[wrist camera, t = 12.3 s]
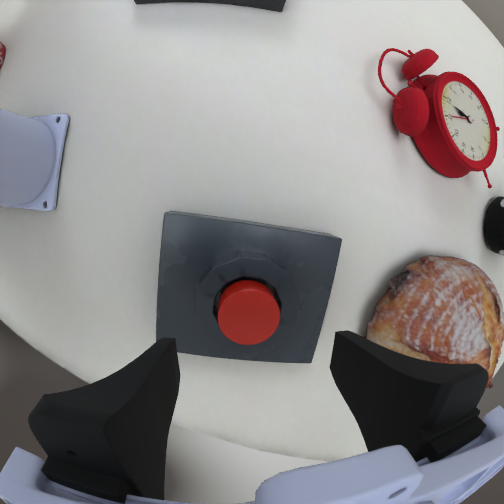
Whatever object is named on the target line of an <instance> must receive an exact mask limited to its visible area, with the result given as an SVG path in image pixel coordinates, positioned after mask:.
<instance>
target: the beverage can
mask: <svg viewBox="0 0 504 504" xmlns="http://www.w3.org/2000/svg"><path fill="white" fill-rule="evenodd" d="M484 231H485V237H486V241H487V243H488V244H489V247H490V248H491V250H492V251H493V252H495V253H498V254H501V255H504V197H497V198H496V199H494V201H493V202H492V203H491V204H490V205H489V207H488V209H487V212H486V216H485V223H484Z"/></svg>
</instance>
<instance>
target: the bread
mask: <svg viewBox="0 0 504 504" xmlns="http://www.w3.org/2000/svg"><path fill="white" fill-rule="evenodd" d="M389 286H390V287H391V289H390V290H388V291H387V293H386V294H385V295H384V296H383V297H382V298H381V299H380V301H379V302H378V303H377V305H376V308H375V312H374V318H373V319H372V321H370V322H369V323H368V324H367V325H368V329H367V335H366V339H368V340H370V341H372V342H375V343H377V344H379V345H381V346H383V347H386V348H388V349H390V350H393V351H395V352H398V353H401V354H404V355H407V356H410V357H414V358H417V359H422V360H427V361H432V362H439V363H449V364H474V363H477V364H479V365H481V366H482V367H483V368H485V369H486V370H487V371H488V373H489V379H488V384H487V386H486V388H491V387H493V385H492V376H493V373H494V370H495V368H496V364H497V363H498V358H499V357H500V354H501V347H502V342H503V340H504V312H503V307H502V303H501V300H500V297H499V294H498V292H497V289H496V287H495V286H494V284H493V283H492V281H491V279H490V278H489V277H488V276H487V275H486V274H485V273H484V272H483V271H482V270H481V269H480V268H479V267H477V266H476V265H475V264H473V263H470V262H467V261H465V260H462V259H458V258H454V257H439V256H426V257H422V258H420V260H419V261H418V262H413V263H410V264H408V265H407V266H406V267H405V269H404V271H403V272H402V273H400V274H399V275H397V276H396V277H394V278H393V279H391V282H390V283H389Z"/></svg>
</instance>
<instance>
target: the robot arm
mask: <svg viewBox="0 0 504 504" xmlns="http://www.w3.org/2000/svg"><path fill="white" fill-rule="evenodd" d="M60 118H61V119H60ZM59 119H60V121H59V122H58V120H59ZM68 123H69V116H68V115H67V114H56V115H46V116H38V117H31V118H28V117H25V116H22V115H19V114H16V113H13V112H10V111H6V110H3V109H0V206H4V207H14V208H24V209H34V210H43V211H53V210H54V209H55V208H56V199H57V189H58V180H59V172H60V165H61V159H62V153H63V147H64V142H65V137H66V132H67V127H68ZM46 202H47V207H46ZM330 370H331V373H332V376H333V378H334V381H335V383H336V385H337V387H338V389H339V391H340V393H341V394H342V396H343V398H344V400H345V401H346V403H347V405H348V406H349V408H350V410H351V412H352V413H353V415H354V417H355V419H356V421H357V423H358V425H359V428H360V430H361V433H362V435H363V438H364V441H365V443H366V446H367V449H368V452H367V453H364V454H360V455H356V456H353V457H349V458H345V459H341V460H337V461H332V462H328V463H323V464H318V465H312V466H307V467H300V468H297V469H293V470H289V471H285V472H281V473H279V474H277V475H275V476H273V477H271V478H269V479H267V480H265V481H264V482H262V484H261V485H260V486H259V488H258V489H257V491H256V497H255V501H252V502H246V503H241V504H459V503H460V502H461V501H463V500H464V499H466V498H467V497H468V496H470V495H471V494H472V493H473V492H475V491H476V490H477V489H479V488H480V487H481V486H482V485H483V484H485V483H486V482H487V481H488V480H489V479H490V478H492V477H493V476H494V475H495V474H496V473H498V472H499V471H500V470H501V469H502V467H503V466H504V409H502V407H501V406H498V407H496V408H495V409H493V410H492V411H491V412H489V413H488V414H486V415H485V416H484V417H483V418H482V419H480V418H479V417H478V415H479V413H480V410H478V409H477V408H476V406H477V404H478V403H479V401H480V399H481V397H482V395H483V393H484V391H485V388H486V386H487V384H488V379H489V373H488V371H487V370H486V369H485V368H483V367H482V366H481V365H479V364H477V363H474V364H449V363H439V362H432V361H427V360H422V359H417V358H414V357H410V356H407V355H404V354H401V353H398V352H395V351H393V350H390V349H388V348H386V347H383V346H381V345H379V344H377V343H375V342H372V341H370V340H368V339H366V338H364V337H362V336H360V335H358V334H355V333H353V332H350V331H338V332H335V339H334V345H333V351H332V357H331V363H330ZM179 383H180V369H179V362H178V355H177V348H176V339H175V338H161V339H159V340H158V341H157V342H156V343H155V344H153V345H152V346H151V347H150V348H149V349H148V350H146V351H145V352H144V353H143V354H141V355H140V356H139V357H138V358H136V359H135V360H133V361H132V362H131V363H129V364H128V365H126V366H125V367H124V368H122V369H120V370H119V371H117V372H115V373H113V374H112V375H110V376H108V377H106V378H104V379H101V380H99V381H96V382H94V383H92V384H89V385H86V386H84V387H81V388H77V389H73V390H69V391H64V392H58V393H53V394H44V395H43V397H42V398H41V399H40V401H39V402H38V404H37V405H36V406H35V408H34V409H33V411H32V412H31V413H30V415H29V418H28V422H29V426H30V429H31V431H32V432H33V434H34V436H35V437H36V439H37V440H38V442H39V443H40V445H41V446H42V448H43V449H44V451H45V452H46V453H47V455H48V458H47V460H46V462H44V461H43V460H42V459H41V458H39V457H38V456H36V455H33V454H31V453H29V452H27V451H25V450H23V449H21V448H19V447H16V448H15V450H14V451H13V453H12V454H11V456H10V458H9V460H8V461H7V463H6V464H5V466H4V468H3V470H2V471H1V473H0V498H1V499H2V500H4V501H5V502H6V503H7V504H202V503H185V502H174V501H165V500H164V479H165V459H166V448H167V439H168V433H169V428H170V424H171V420H172V416H173V412H174V408H175V404H176V400H177V396H178V392H179Z"/></svg>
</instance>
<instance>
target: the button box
mask: <svg viewBox="0 0 504 504" xmlns="http://www.w3.org/2000/svg"><path fill="white" fill-rule="evenodd" d="M341 242H342V239H341V238H339V237H336V236H334V235H331V234H326V233H320V232H314V231H308V230H302V229H296V228H290V227H284V226H277V225H271V224H264V223H257V222H251V221H244V220H237V219H230V218H223V217H216V216H208V215H201V214H193V213H185V212H177V211H169V212H166V213H164V221H163V230H162V240H161V250H160V263H159V277H158V294H157V321H156V342H157V341H158V340H159V339H161V338H175V339H176V348H177V352H179V353H186V354H193V355H201V356H209V357H218V358H228V359H238V360H250V361H265V362H284V363H311V362H312V359H313V355H314V352H315V349H316V345H317V342H318V338H319V335H320V331H321V327H322V324H323V320H324V316H325V312H326V308H327V304H328V300H329V296H330V292H331V288H332V284H333V280H334V275H335V271H336V266H337V262H338V257H339V252H340V247H341ZM242 280H253V281H257V282H260V283H262V284H264V285H265V286H266V287H268V288H269V290H270V291H271V292H272V294H273V296H274V298H275V300H276V302H277V304H278V306H279V310H280V321H279V325H278V327H277V329H276V330H275V332H274V333H273V334H272V335H271V336H270V337H269V338H268V339H266V340H265V341H263V342H260V343H257V344H253V345H243V344H239V343H236V342H233V341H232V340H230V339H229V338H227V337H226V336H225V335H224V334H223V332H222V331H221V329H220V327H219V324H218V303H219V299H220V297H221V295H222V293H223V292H224V290H225V289H226V288H227V287H229V286H230V285H232V284H233V283H235V282H238V281H242Z"/></svg>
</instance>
